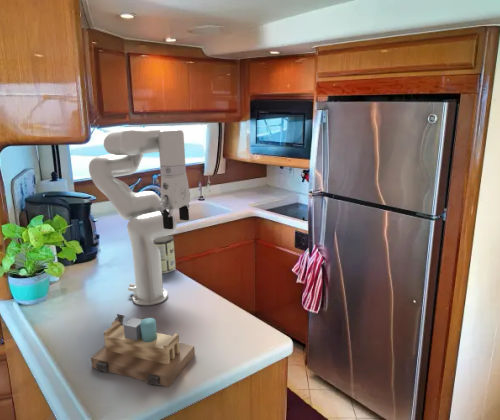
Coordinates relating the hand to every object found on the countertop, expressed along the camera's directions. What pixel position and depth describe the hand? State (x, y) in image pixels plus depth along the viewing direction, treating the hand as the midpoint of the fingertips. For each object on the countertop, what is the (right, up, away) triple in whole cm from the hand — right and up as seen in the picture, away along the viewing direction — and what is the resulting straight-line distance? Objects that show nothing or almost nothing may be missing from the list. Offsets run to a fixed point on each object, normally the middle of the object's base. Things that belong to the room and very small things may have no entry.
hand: (176, 224), depth 128 cm
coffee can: (-14, -21, +48) cm, 54 cm away
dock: (-6, -38, -15) cm, 41 cm away
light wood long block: (-7, -35, -15) cm, 38 cm away
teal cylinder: (-4, -30, -17) cm, 35 cm away
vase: (-18, -34, -1) cm, 39 cm away
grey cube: (-9, -30, -16) cm, 35 cm away
